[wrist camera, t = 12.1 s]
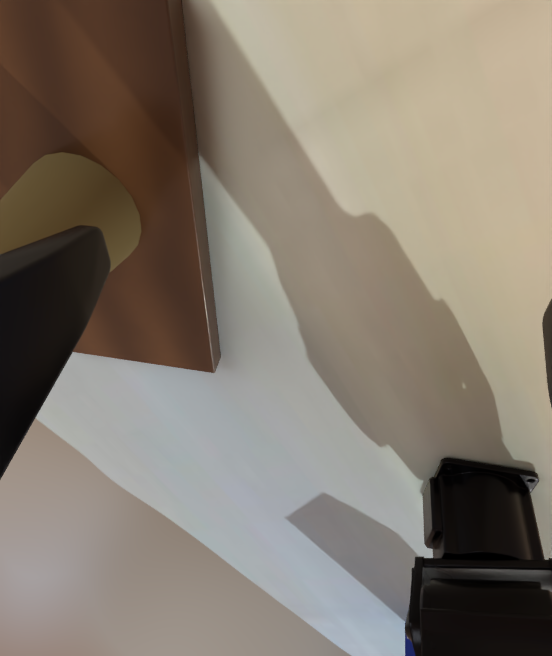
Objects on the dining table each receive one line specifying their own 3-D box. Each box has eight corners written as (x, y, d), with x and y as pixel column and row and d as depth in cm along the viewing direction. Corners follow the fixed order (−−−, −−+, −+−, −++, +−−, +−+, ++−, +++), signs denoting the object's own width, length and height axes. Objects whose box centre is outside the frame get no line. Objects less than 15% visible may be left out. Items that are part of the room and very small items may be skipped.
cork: (165, 227, 23) (42, 398, 15) (97, 279, 27) (-34, 442, 19) (66, 125, 21) (-145, 266, 13) (4, 196, 24) (-195, 344, 16)
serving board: (180, -15, 18) (166, -9, 17) (221, 357, 31) (214, 373, 30) (-97, -23, 19) (-126, -18, 18) (55, 333, 33) (43, 348, 32)
